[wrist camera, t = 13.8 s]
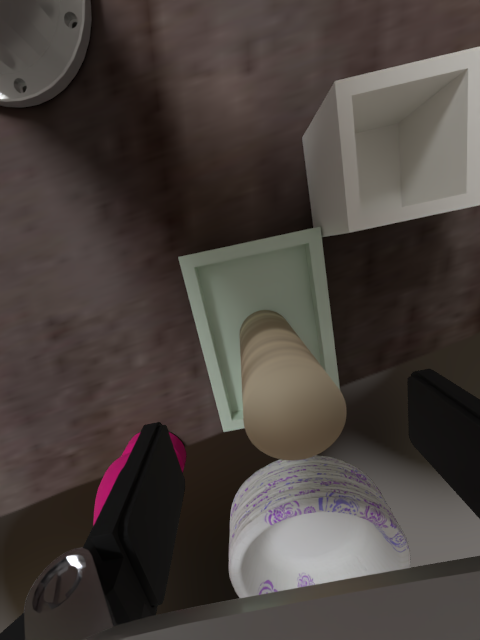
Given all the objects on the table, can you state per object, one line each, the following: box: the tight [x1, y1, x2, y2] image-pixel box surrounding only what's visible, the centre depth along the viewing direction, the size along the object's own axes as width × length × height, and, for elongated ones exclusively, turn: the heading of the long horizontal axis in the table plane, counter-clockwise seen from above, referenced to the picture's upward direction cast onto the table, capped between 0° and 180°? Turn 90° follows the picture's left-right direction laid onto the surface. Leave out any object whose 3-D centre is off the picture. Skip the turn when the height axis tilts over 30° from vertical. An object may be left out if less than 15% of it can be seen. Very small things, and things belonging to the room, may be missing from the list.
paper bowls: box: [229, 455, 411, 598], centre depth 25 cm, size 15×15×8 cm
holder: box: [302, 47, 480, 237], centre depth 18 cm, size 8×8×7 cm
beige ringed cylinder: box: [240, 310, 347, 460], centre depth 17 cm, size 4×4×12 cm
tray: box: [178, 227, 340, 432], centre depth 23 cm, size 16×11×2 cm
